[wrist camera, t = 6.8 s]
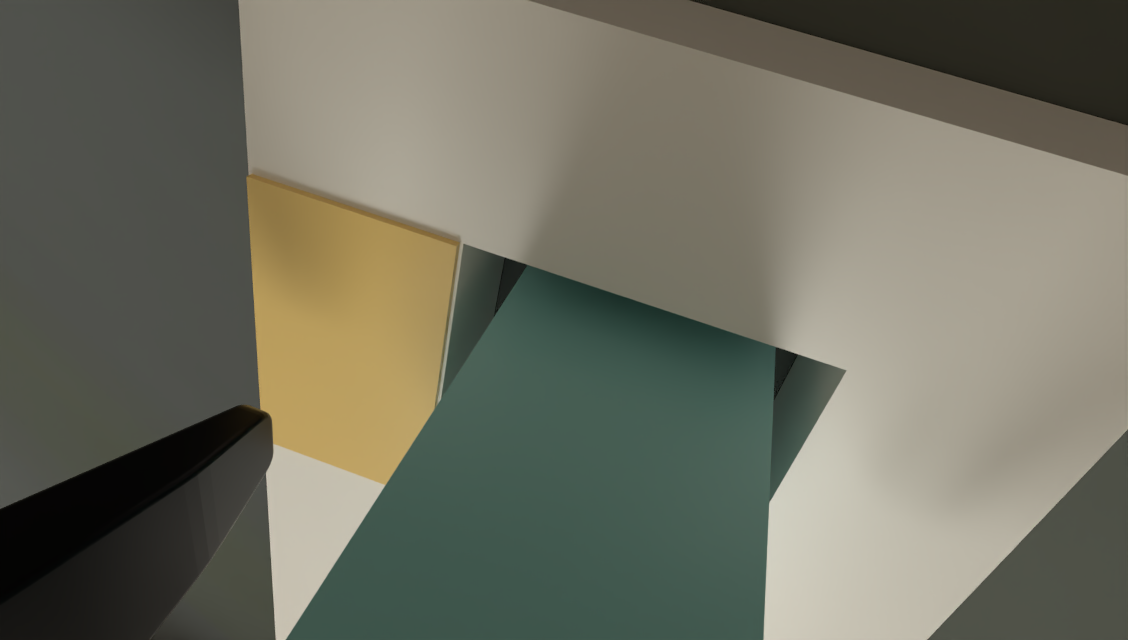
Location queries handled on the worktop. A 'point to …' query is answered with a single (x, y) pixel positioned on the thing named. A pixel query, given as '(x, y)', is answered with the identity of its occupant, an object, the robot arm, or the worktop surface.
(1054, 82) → the worktop surface
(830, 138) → the panel
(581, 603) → the plug
